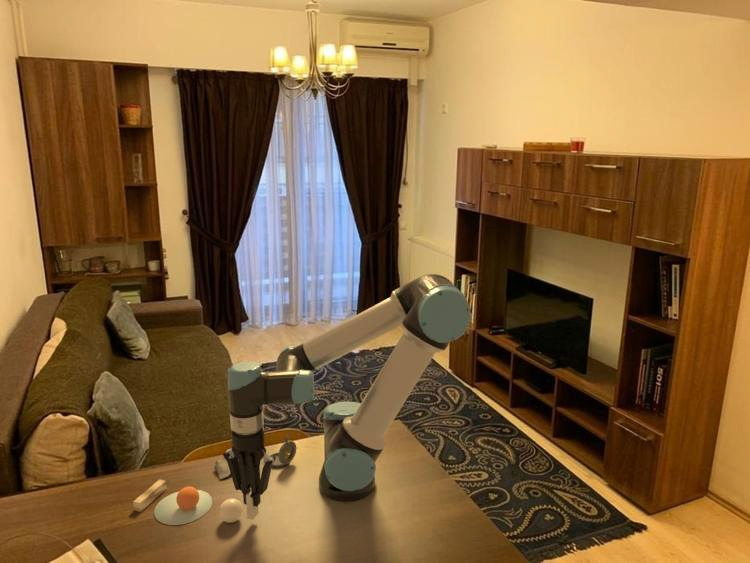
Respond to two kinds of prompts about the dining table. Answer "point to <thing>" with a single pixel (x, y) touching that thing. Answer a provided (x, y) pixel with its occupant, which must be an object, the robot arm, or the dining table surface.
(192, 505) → the object ball
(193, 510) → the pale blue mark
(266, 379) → the robot arm
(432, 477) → the dining table surface
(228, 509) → the cue ball
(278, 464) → the pocket watch
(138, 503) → the birch rail
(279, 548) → the dining table surface
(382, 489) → the dining table surface
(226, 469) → the mineral specimen
